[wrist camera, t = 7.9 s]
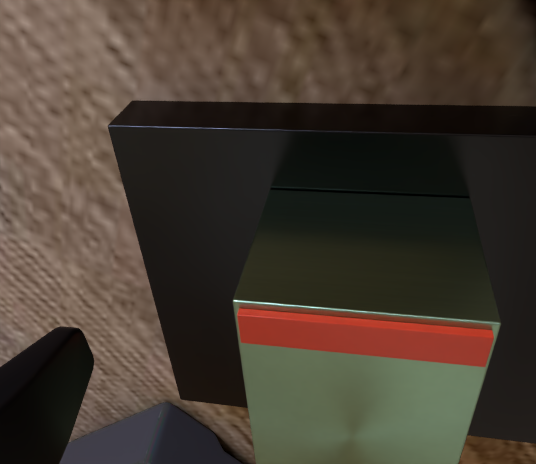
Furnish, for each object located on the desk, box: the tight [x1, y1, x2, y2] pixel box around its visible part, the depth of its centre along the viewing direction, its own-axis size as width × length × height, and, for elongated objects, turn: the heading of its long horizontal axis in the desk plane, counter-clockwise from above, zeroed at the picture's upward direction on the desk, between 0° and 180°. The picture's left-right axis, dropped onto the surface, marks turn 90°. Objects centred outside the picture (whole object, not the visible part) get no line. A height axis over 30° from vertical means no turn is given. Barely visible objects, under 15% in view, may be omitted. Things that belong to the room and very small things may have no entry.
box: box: [233, 190, 501, 464], centre depth 16 cm, size 10×6×5 cm, turn 3°
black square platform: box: [108, 101, 536, 444], centre depth 19 cm, size 16×14×2 cm
